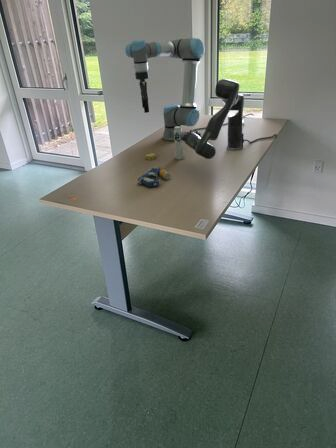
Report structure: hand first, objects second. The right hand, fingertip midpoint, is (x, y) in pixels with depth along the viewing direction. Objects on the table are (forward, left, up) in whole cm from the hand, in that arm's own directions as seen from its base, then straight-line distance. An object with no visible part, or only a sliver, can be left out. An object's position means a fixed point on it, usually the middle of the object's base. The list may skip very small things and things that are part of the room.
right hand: (183, 132), depth 194 cm
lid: (+17, -19, -17) cm, 30 cm away
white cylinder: (0, -10, -19) cm, 21 cm away
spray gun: (+23, +16, -19) cm, 34 cm away
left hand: (+17, -19, +12) cm, 28 cm away
